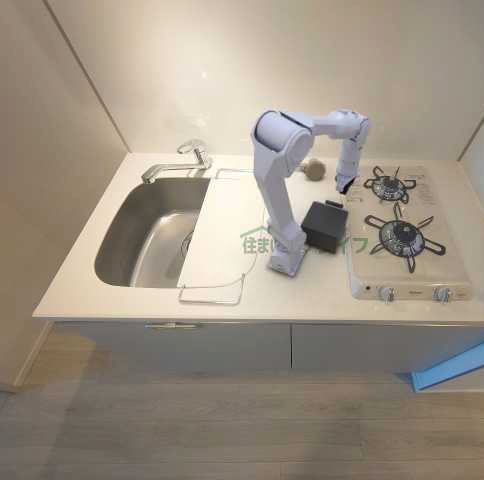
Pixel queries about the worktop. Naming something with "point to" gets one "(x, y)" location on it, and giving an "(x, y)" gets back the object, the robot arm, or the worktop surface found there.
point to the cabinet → (324, 226)
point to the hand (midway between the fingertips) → (343, 192)
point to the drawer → (333, 204)
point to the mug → (314, 169)
